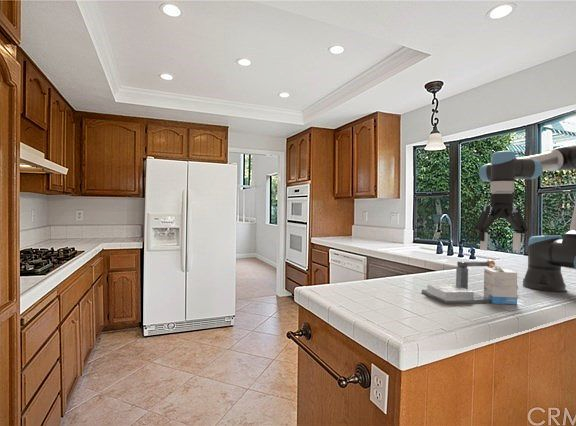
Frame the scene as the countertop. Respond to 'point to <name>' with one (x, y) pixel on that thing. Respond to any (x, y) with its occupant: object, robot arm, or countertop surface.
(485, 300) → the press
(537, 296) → the countertop surface
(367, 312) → the countertop surface
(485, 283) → the ink box
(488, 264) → the lever
